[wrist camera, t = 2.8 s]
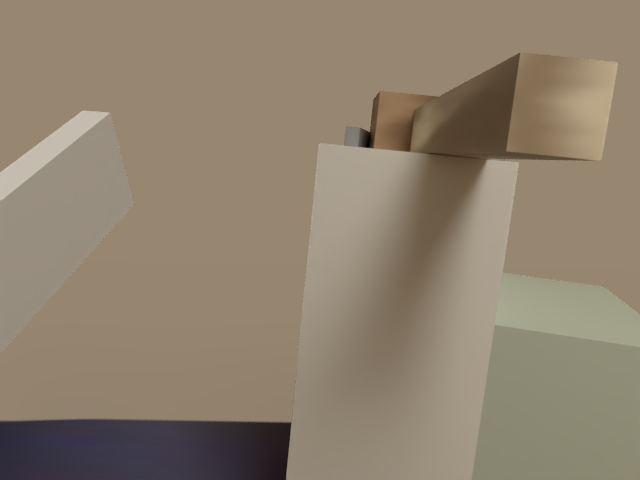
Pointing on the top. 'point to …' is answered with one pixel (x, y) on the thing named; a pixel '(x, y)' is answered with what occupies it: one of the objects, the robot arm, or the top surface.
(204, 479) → the top surface
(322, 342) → the stepped plinth
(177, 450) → the top surface
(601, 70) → the mallet
